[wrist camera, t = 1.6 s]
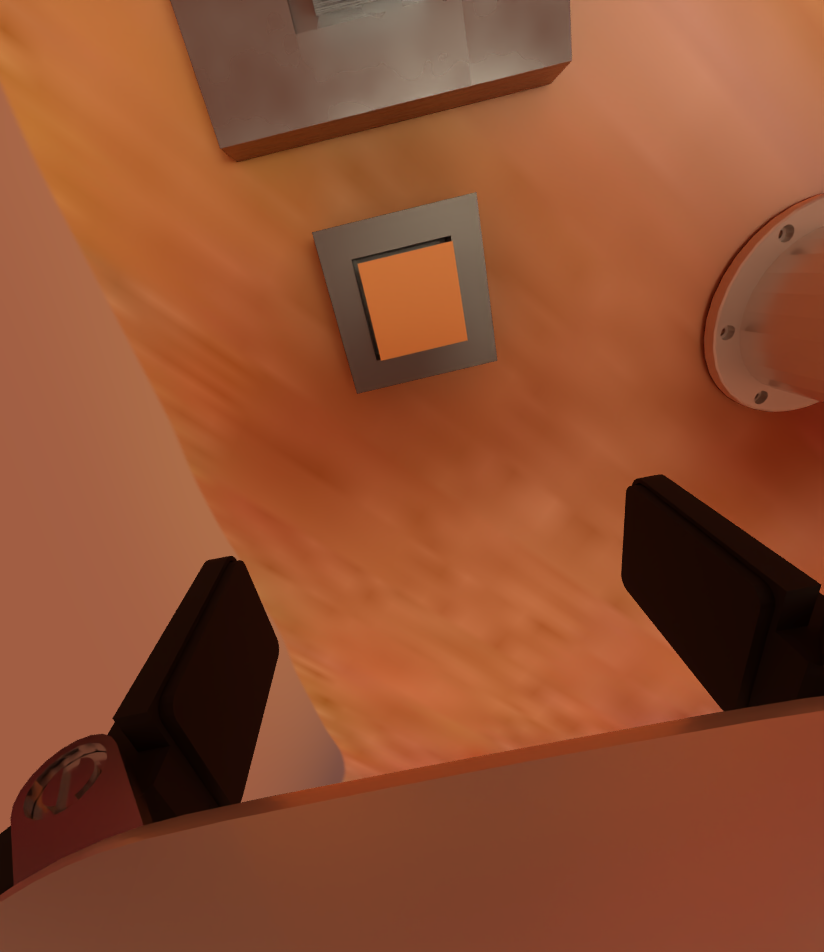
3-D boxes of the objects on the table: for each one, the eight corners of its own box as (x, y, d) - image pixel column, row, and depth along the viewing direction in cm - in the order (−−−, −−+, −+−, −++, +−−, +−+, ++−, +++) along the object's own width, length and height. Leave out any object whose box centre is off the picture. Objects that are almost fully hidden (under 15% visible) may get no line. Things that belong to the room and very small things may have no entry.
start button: (444, 244, 21) (452, 240, 19) (458, 333, 23) (467, 340, 21) (359, 265, 21) (357, 263, 19) (380, 352, 23) (381, 360, 21)
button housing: (464, 202, 23) (476, 192, 20) (484, 351, 26) (497, 360, 23) (319, 237, 23) (312, 232, 20) (358, 381, 26) (357, 393, 24)
